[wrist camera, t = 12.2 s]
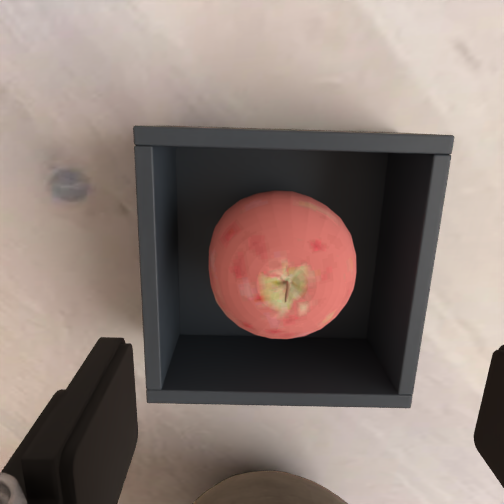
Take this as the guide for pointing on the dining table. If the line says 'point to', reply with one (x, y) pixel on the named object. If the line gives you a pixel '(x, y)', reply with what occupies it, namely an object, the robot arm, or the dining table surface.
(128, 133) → the dining table surface
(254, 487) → the bowl
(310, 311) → the apple
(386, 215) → the bin
